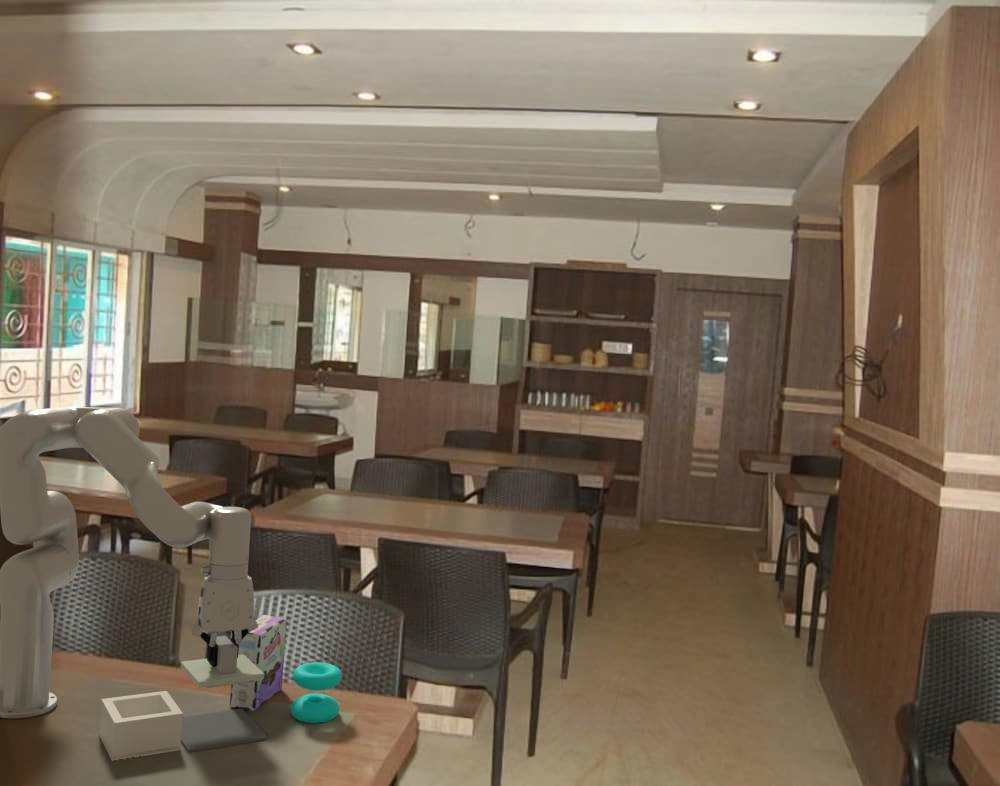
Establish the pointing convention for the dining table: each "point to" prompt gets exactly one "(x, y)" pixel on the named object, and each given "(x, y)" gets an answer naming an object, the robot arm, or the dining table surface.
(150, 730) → the storage box
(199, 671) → the lid
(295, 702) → the donuts
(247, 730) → the rubber mat
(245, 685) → the candy box
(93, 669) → the dining table surface
